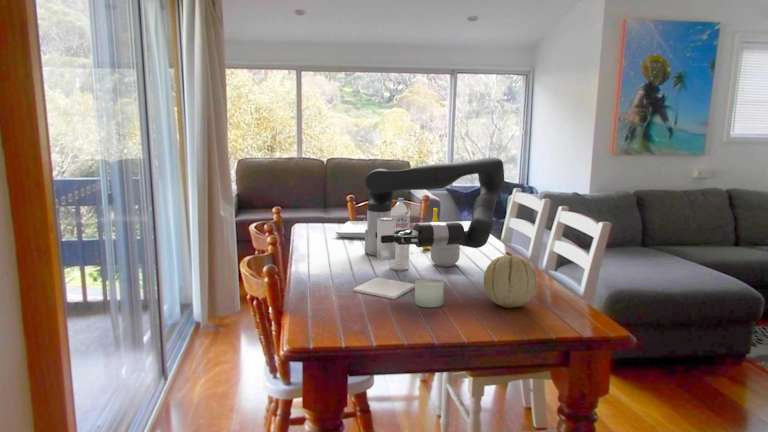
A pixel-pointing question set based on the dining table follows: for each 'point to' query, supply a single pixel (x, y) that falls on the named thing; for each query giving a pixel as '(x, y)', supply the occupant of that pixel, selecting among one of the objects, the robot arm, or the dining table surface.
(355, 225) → the square plate
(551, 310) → the dining table surface
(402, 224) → the water bottle
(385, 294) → the tile
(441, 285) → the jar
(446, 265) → the teacup
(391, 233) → the can
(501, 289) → the cantaloupe
